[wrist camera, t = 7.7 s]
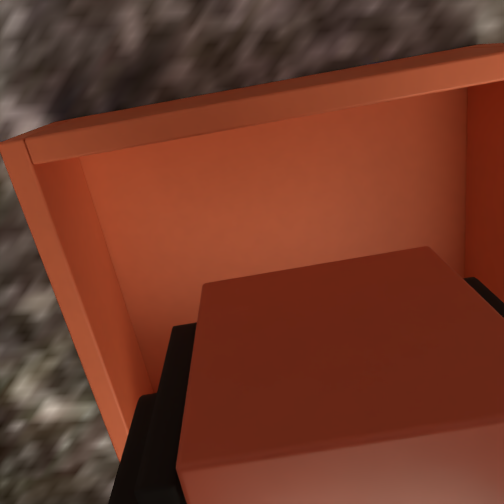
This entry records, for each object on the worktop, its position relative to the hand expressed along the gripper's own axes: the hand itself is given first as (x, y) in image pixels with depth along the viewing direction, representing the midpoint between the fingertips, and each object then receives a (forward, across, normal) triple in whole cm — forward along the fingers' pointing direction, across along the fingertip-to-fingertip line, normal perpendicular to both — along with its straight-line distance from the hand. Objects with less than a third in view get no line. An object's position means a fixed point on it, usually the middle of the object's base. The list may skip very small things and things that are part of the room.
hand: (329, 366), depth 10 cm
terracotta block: (0, 0, 0) cm, 0 cm away
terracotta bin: (+6, 0, 0) cm, 6 cm away
